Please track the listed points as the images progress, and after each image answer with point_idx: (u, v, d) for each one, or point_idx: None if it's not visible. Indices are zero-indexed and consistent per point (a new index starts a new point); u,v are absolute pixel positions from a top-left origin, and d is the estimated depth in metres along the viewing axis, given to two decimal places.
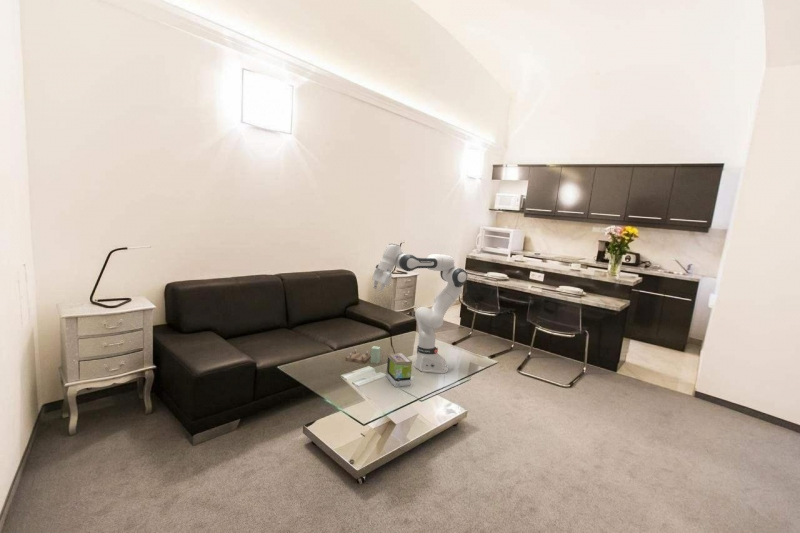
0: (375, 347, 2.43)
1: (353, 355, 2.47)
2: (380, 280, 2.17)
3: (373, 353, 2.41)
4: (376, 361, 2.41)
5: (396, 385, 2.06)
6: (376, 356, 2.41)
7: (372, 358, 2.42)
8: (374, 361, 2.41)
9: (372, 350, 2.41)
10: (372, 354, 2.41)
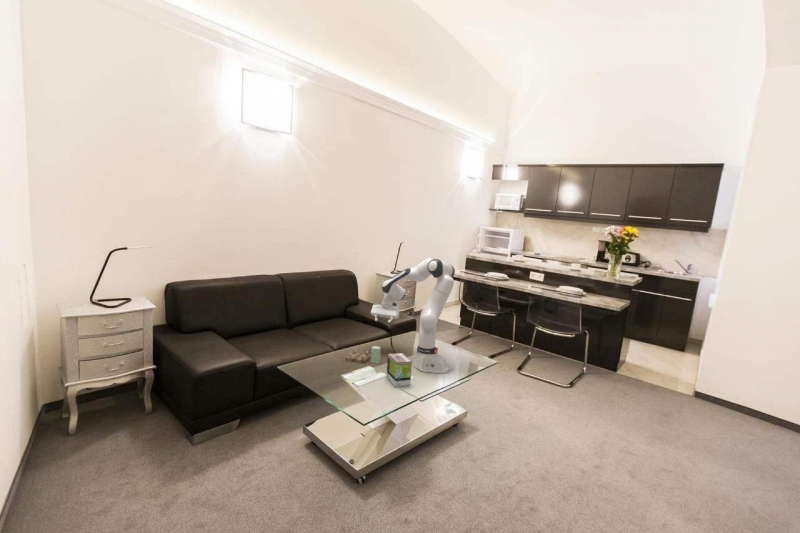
0: (375, 347, 2.43)
1: (353, 355, 2.47)
2: None
3: (373, 353, 2.41)
4: (376, 361, 2.41)
5: (396, 385, 2.06)
6: (376, 356, 2.41)
7: (372, 358, 2.42)
8: (374, 361, 2.41)
9: (372, 350, 2.41)
10: (372, 354, 2.41)
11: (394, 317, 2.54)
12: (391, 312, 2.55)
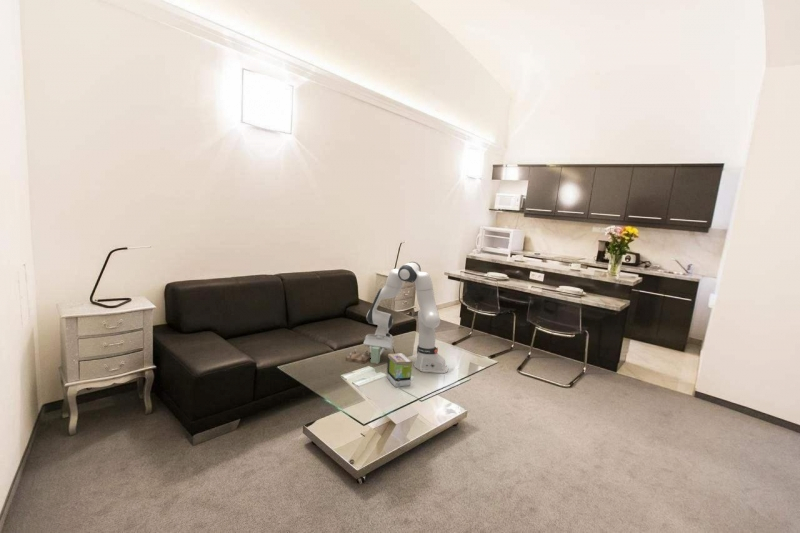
0: (375, 347, 2.43)
1: (353, 355, 2.47)
2: None
3: (373, 353, 2.41)
4: (376, 361, 2.41)
5: (396, 385, 2.06)
6: (376, 356, 2.41)
7: (372, 358, 2.42)
8: (374, 361, 2.41)
9: (372, 350, 2.41)
10: (372, 354, 2.41)
11: (387, 348, 2.44)
12: (384, 343, 2.45)
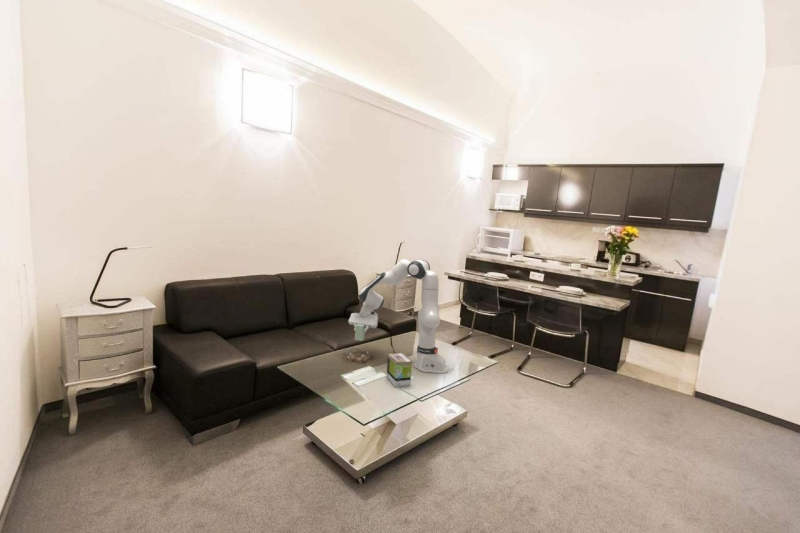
0: (359, 324, 2.45)
1: (353, 355, 2.47)
2: None
3: (358, 330, 2.43)
4: (361, 339, 2.43)
5: (396, 385, 2.06)
6: (360, 333, 2.43)
7: (356, 335, 2.44)
8: (358, 338, 2.43)
9: (356, 327, 2.43)
10: (356, 331, 2.43)
11: (372, 326, 2.46)
12: (369, 321, 2.47)
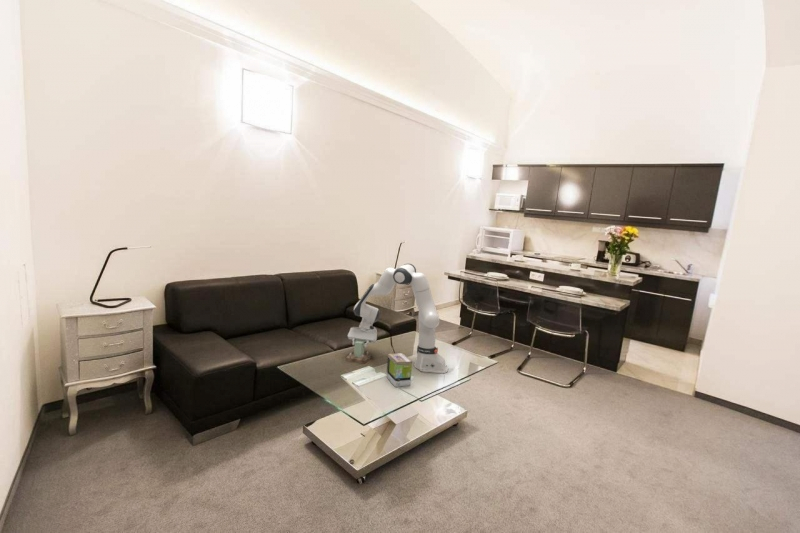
0: (359, 341, 2.46)
1: (353, 355, 2.47)
2: None
3: (357, 347, 2.44)
4: (360, 356, 2.44)
5: (396, 385, 2.06)
6: (359, 350, 2.44)
7: (356, 352, 2.45)
8: (358, 355, 2.44)
9: (356, 344, 2.44)
10: (356, 348, 2.44)
11: (371, 341, 2.46)
12: (368, 336, 2.48)
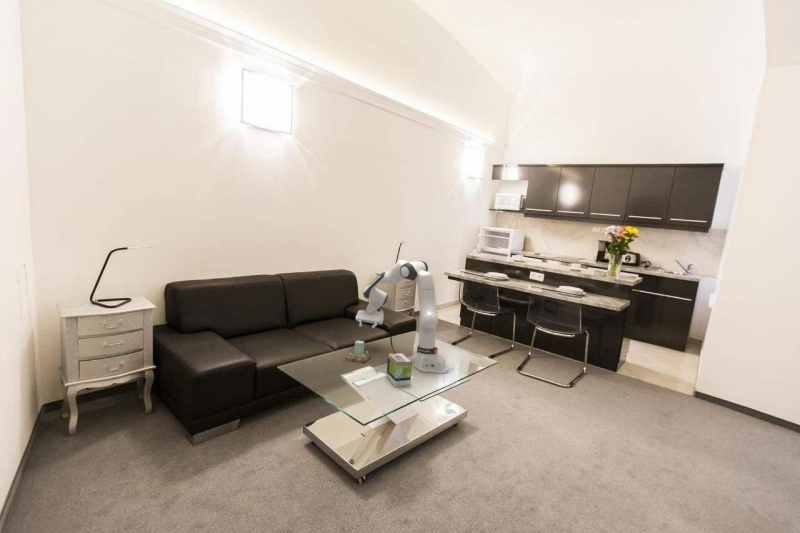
0: (359, 341, 2.46)
1: (353, 355, 2.47)
2: None
3: (357, 347, 2.44)
4: (360, 356, 2.44)
5: (396, 385, 2.06)
6: (359, 350, 2.44)
7: (356, 352, 2.45)
8: (358, 355, 2.44)
9: (356, 344, 2.44)
10: (356, 348, 2.44)
11: (378, 322, 2.58)
12: (375, 317, 2.59)
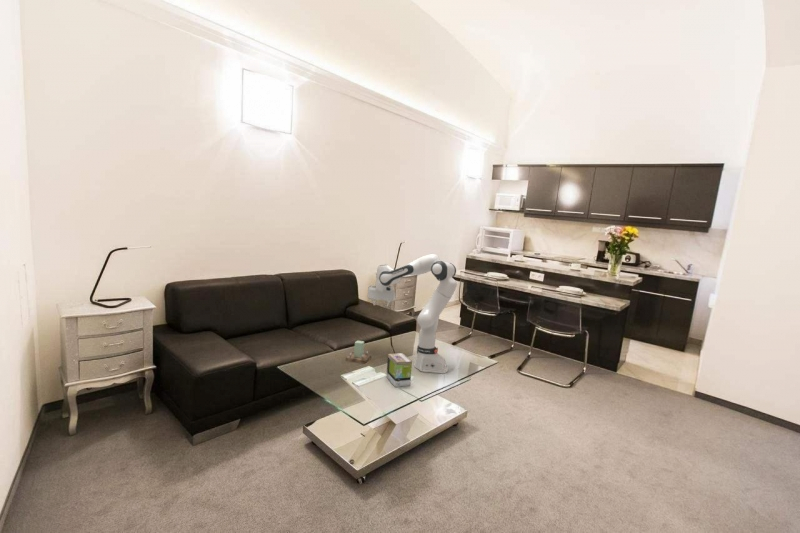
0: (359, 341, 2.46)
1: (353, 355, 2.47)
2: None
3: (357, 347, 2.44)
4: (360, 356, 2.44)
5: (396, 385, 2.06)
6: (359, 350, 2.44)
7: (356, 352, 2.45)
8: (358, 355, 2.44)
9: (356, 344, 2.44)
10: (356, 348, 2.44)
11: (391, 300, 2.59)
12: (387, 296, 2.58)
